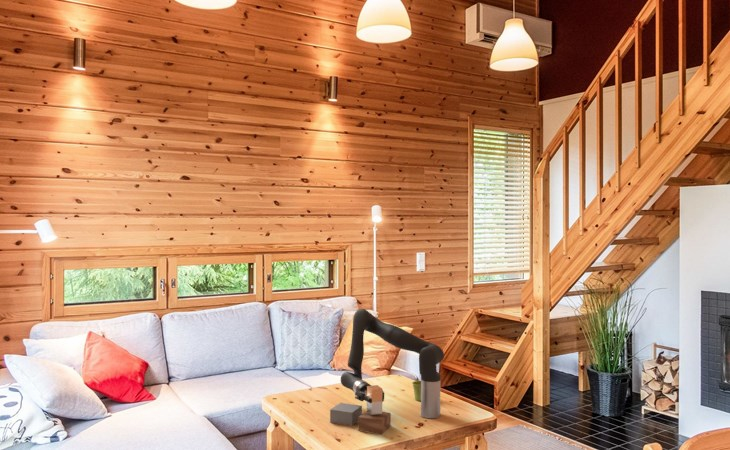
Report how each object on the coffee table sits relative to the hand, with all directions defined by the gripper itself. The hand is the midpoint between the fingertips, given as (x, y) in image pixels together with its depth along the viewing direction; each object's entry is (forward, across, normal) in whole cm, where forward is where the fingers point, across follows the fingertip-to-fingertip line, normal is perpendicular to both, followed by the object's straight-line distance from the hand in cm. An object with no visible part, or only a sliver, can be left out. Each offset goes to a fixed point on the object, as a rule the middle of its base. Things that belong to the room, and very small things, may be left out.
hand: (376, 400), depth 263 cm
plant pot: (-33, +38, +14) cm, 53 cm away
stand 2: (-2, 0, +13) cm, 14 cm away
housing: (-3, 0, +6) cm, 7 cm away
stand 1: (-17, -8, +13) cm, 23 cm away
